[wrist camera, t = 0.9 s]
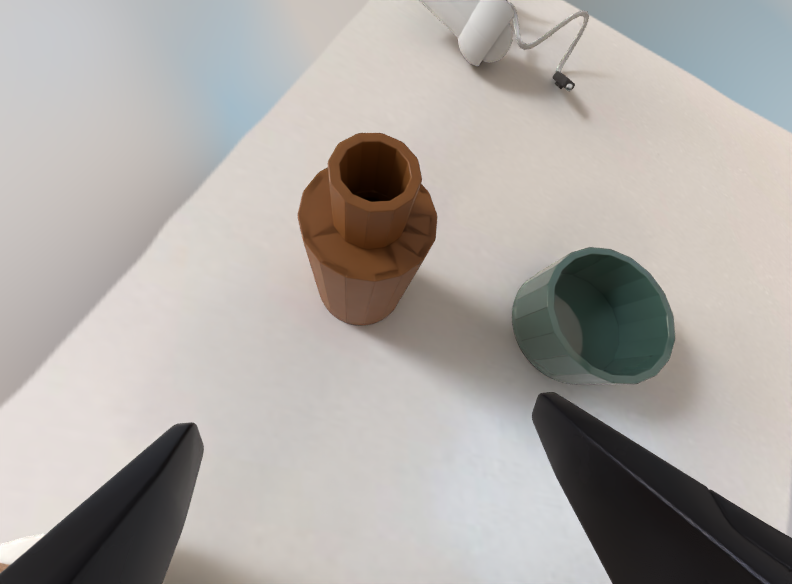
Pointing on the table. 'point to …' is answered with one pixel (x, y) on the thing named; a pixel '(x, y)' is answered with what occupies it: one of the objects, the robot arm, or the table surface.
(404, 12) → the table surface
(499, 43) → the clip-on lamp
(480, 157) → the table surface
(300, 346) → the table surface
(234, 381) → the table surface
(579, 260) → the cup
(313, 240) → the bottle
